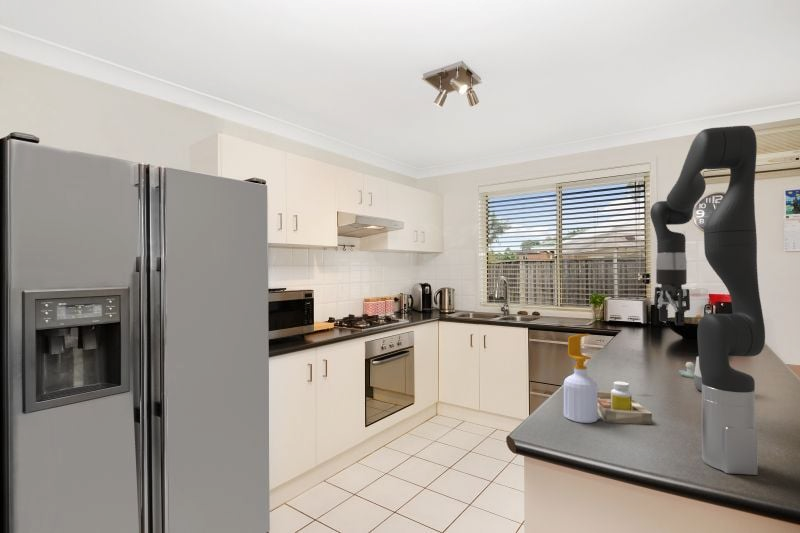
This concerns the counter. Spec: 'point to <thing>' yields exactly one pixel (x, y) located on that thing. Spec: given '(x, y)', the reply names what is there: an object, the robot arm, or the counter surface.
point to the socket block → (622, 411)
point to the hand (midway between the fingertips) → (671, 323)
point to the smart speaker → (698, 376)
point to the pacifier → (688, 370)
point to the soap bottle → (580, 387)
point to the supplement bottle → (621, 396)
